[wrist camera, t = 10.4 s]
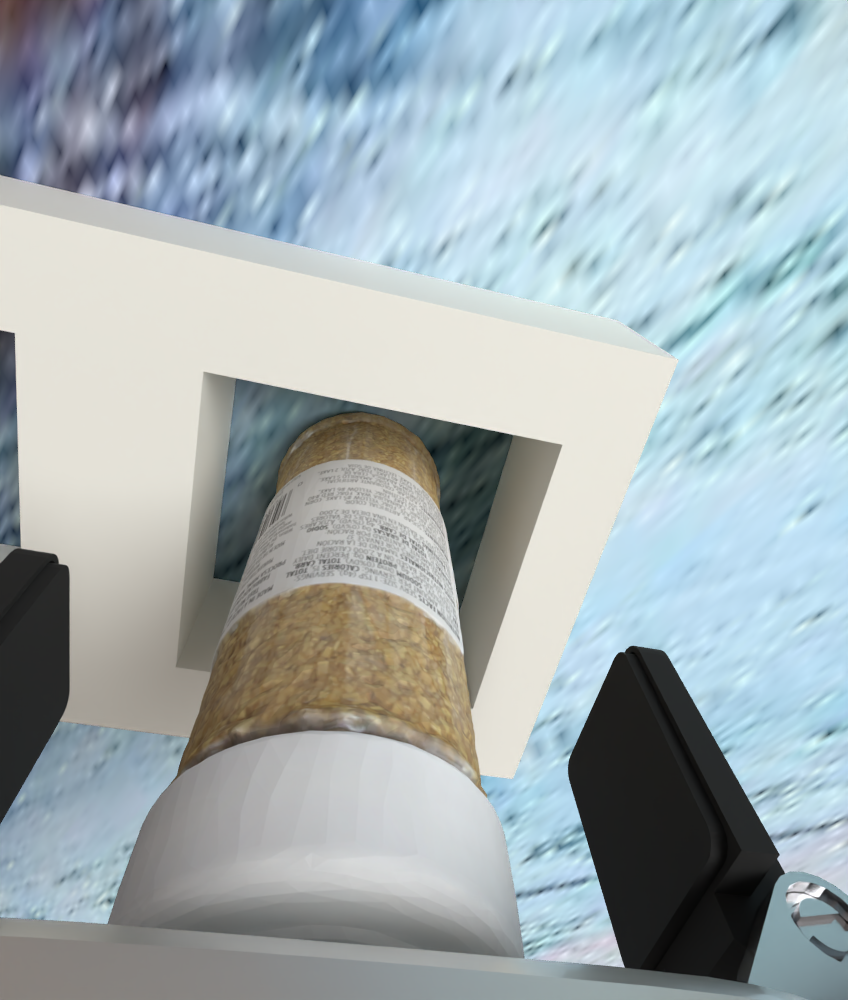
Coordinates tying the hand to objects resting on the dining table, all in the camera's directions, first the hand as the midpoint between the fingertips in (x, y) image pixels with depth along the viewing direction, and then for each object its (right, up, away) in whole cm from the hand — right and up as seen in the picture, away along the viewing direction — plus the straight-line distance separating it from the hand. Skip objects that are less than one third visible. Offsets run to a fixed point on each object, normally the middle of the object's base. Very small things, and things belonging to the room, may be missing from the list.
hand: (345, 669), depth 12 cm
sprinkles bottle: (-1, +3, +8) cm, 8 cm away
